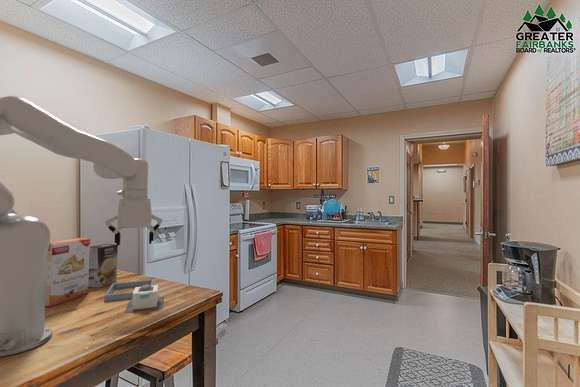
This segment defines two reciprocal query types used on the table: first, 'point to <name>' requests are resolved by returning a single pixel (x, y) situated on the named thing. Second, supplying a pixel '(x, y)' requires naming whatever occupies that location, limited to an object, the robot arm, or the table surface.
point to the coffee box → (102, 265)
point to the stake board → (159, 305)
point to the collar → (145, 298)
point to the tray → (124, 285)
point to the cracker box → (67, 270)
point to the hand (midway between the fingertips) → (134, 244)
